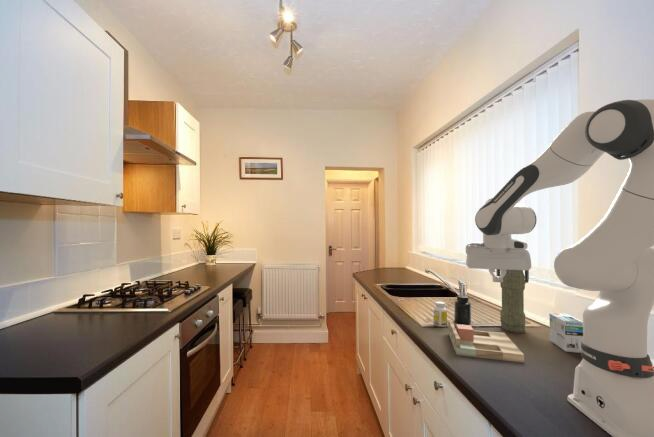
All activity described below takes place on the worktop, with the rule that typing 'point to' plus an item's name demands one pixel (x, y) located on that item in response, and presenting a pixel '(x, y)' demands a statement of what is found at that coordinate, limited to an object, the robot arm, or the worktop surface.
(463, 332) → the block
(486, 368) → the worktop surface
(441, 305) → the supplement bottle
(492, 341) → the board
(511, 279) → the thermos
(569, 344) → the light bulb box
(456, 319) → the supplement bottle
